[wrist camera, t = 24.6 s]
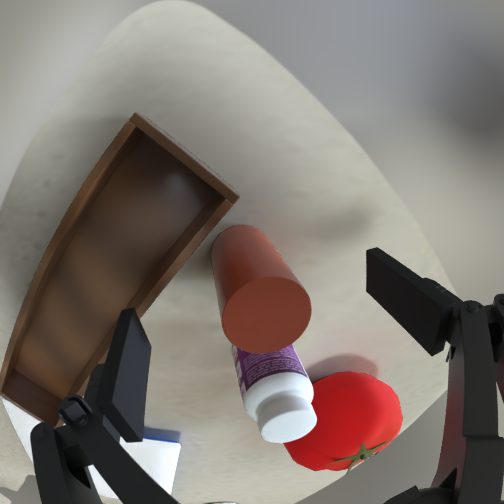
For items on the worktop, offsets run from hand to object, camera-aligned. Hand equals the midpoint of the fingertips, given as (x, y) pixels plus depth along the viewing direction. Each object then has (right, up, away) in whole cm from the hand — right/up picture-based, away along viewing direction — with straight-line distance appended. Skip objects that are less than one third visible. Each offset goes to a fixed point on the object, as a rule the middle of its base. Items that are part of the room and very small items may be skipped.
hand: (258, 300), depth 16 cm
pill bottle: (0, -6, +11) cm, 12 cm away
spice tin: (-1, +2, +7) cm, 8 cm away
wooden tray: (-14, -1, +6) cm, 16 cm away
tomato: (+8, -13, +15) cm, 21 cm away
